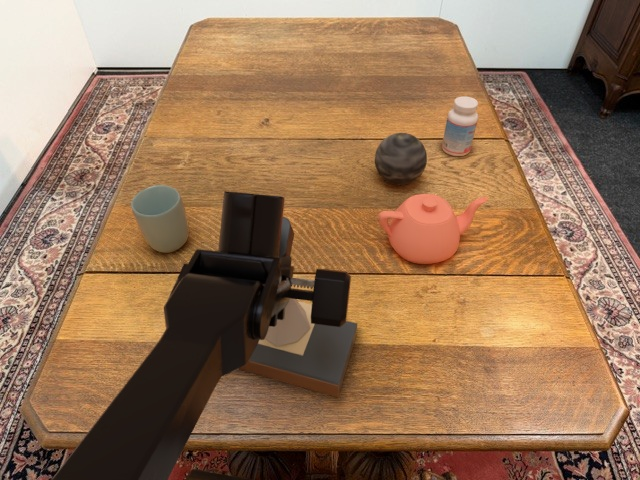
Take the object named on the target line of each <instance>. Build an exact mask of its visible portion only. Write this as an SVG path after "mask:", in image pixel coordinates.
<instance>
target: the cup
mask: <svg viewBox="0 0 640 480" xmlns="http://www.w3.org/2000/svg"><path fill="white" fill-rule="evenodd" d="M130 210H131V212H132V214H133V217H134V220H135V222H136V224H137V227H138V229H139V232H140V234H141V235H142V237H143V240H144V241H145V242H146V243H147V245H148V246H149V247H150V248H151V249H153V250H154V251H157V252H158V253H164V254H169V253H174V252H176V251H177V250H179V249H181V248H182V247H183V246H184V245H185V244H186V243H187V241H188V238H189V235H190V228H189V222H188V216H187V212H186V208H185V204H184V201H183V198H182V195H181V194H180V192H179V191H178V189H176V188H175V187H172V186H170V185H165V184H155V185H151V186H148V187H146V188H144V189H142V190H140V191H139V192H137V194H135V195H134V196H133V198H132V199H131V202H130Z"/></svg>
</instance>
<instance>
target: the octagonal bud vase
mask: <svg viewBox="0 0 640 480" xmlns="http://www.w3.org/2000/svg"><path fill="white" fill-rule="evenodd" d="M299 302H300V301H299ZM299 302H298V299H291V298H290V301H289V303H288V305H287V306H286V307H285V316H284V319H283V320H278V319H277V325H276V326H275V327H272V326H269V328H268V332H267V335H266V337H265V338H266V339H267V340H268V341H270V342H271V343H273V344H274V345H275V346H280V345H284V344H289V343H293V342H297V341H298V340H299V339H300V338H301V337H302V336H303V335H304V334H305V333H306V332H307V331H308V330H309V328H310V325H309V322H308V318H307V315H306V312H305V310H304V309H303V307H302V306H301V305H300V304H299Z"/></svg>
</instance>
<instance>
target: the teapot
mask: <svg viewBox="0 0 640 480" xmlns="http://www.w3.org/2000/svg"><path fill="white" fill-rule="evenodd" d="M487 201H489V198H488V197H486V196H482V197H479V198H476V199H474V200H473V201H471V202H470V203H469V205H468V206H467V207H466V208H465V210H464V211H463V212H462V213H460V214H459V215H457V216H456V214H455V212H454V210H453V208H452V207H451V205H450V203H449V202H448V201H447V200H446V199H444V197H442V196H440V195H436V194H433V193H420V194H415V195H412V196H410V197H408V198H407V199H405V200H404V201H403V202H402V203H401V204H400V205H399V206H398V207H397V208H396V210H383V211H380V212H379V213H378V215H377V216H378V217H377V219H378V222H379V225H380V227H382V229H383V230H384V232H385V233H386V234H387V237H388V241H389V243H390V245H391V247H392V248H393V250H394V251H395V252H396V253H397V254H398V256H400V257H401V258H403V259H405V261H408V262H410V263H412V264H418V265H431V264H435V263H437V264H438V263H440V262H444V261H446V260H448V259H450V258H451V257H453V255H454V254H455V253H456V252H457V250H458V249H459V245H460V239H461V238H460V237H461V235H463V234H464V233H466V232H467V231H468V230H469V229H470V227H471V226H472V223H473V220H474V218H475V215H476V212H477V210H479V208H480V206H482V205H484V204H485V203H486V202H487ZM389 219H390V220H389ZM388 220H389V222H388Z"/></svg>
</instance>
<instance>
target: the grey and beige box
mask: <svg viewBox="0 0 640 480" xmlns="http://www.w3.org/2000/svg"><path fill="white" fill-rule="evenodd" d="M297 301H298V300H297ZM298 302H299V304H300V305H301V306H302V307H303V309H304V310H305V312H306V315H307V318H308V322H309V325H310V328H309V330H308V331H307V332H306V333H305V334H304V335H303V336H302V337H301V338H300V339H299V340H298V341H297V342H293V343H289V344H284V345H280V346H275V345H274V344H273V343H271V342H270V341H268V340H267V339H266V338H265V339H264V340H259V342H258V345H257V347H256V348H255V350H254V352H253V353H252V356H251V357H250V358H249V360H248V362H247V363H246V365H244V366H243V367H241V368H239V369H238V370H241V371H244V372H249V373H251V374H255V375H258V376H262V377H265V378H269V379H272V380H276V381H279V382H282V383H285V384H290V385H293V386H297V387H301V388H305V389H306V390H307V389H308V390H311V391H314V392H318V393H321V394H326V395H329V396H332V397H335V398H339V396H340V392H341V389H342V385H343V382H344V379H345V376H346V372H347V369H348V366H349V363H350V359H351V355H352V352H353V349H354V345H355V342H356V338H357V337H358V335H357V334H358V323H357V322H353V321H348V320H347V321H346V323H345V324H343V325H342V326H341V327H335V326H327V325H319V324H311V309H312V303H307V302H304V301H298Z"/></svg>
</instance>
